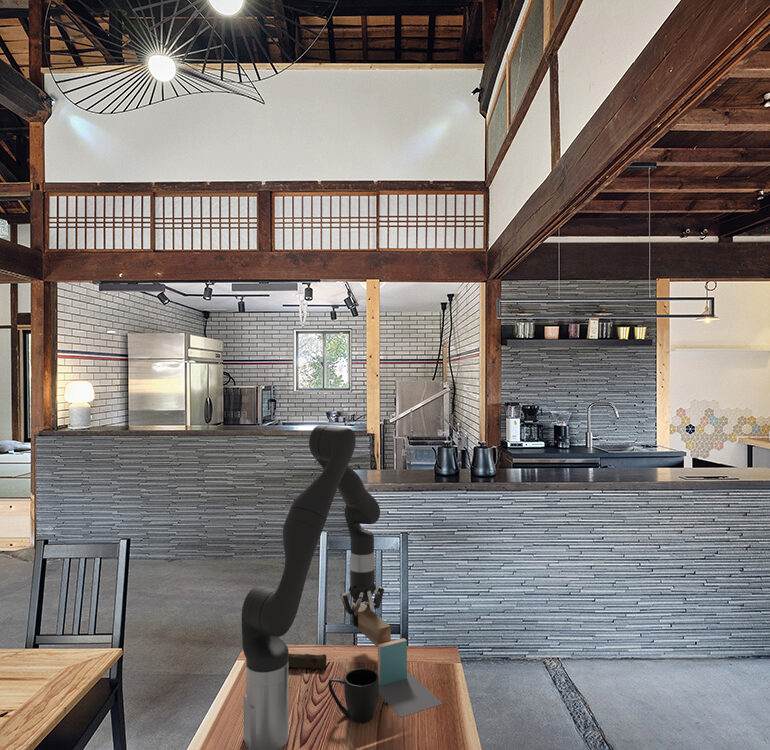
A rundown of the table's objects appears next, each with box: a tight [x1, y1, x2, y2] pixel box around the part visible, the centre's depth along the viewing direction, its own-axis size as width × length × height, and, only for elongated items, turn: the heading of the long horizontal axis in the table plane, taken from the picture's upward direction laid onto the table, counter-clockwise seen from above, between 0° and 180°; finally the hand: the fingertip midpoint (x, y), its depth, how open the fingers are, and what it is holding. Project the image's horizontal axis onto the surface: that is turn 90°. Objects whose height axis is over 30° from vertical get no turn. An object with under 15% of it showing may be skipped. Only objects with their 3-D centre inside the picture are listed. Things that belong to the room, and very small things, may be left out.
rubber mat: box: [373, 668, 444, 718], centre depth 139 cm, size 12×22×1 cm, turn 28°
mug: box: [327, 667, 379, 724], centre depth 128 cm, size 8×12×10 cm
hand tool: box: [289, 653, 327, 672], centre depth 151 cm, size 19×4×5 cm, turn 82°
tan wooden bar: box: [350, 602, 392, 648], centre depth 156 cm, size 4×18×5 cm, turn 28°
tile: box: [377, 637, 408, 686], centre depth 143 cm, size 8×2×10 cm, turn 118°
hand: (362, 624), depth 160 cm, fingers closed on tan wooden bar, 4 cm apart
